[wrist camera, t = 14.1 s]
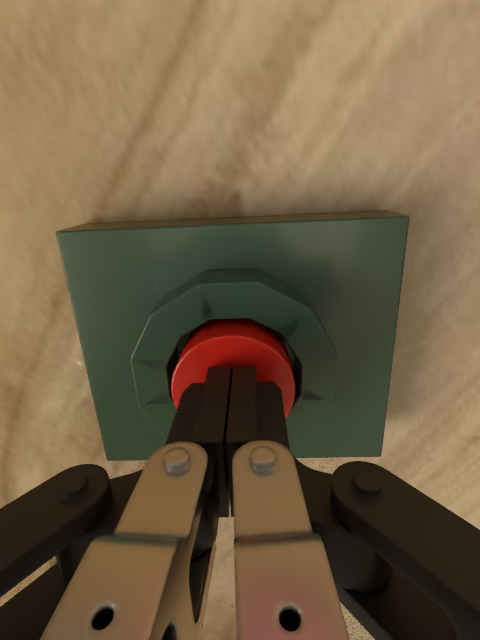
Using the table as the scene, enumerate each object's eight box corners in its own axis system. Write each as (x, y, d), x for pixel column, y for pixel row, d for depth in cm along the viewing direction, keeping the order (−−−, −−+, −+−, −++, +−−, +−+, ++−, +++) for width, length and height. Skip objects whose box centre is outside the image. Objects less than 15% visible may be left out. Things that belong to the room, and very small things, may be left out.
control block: (122, 429, 18) (89, 494, 14) (82, 223, 15) (23, 239, 11) (366, 425, 18) (397, 491, 14) (387, 210, 14) (436, 221, 10)
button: (186, 413, 14) (177, 444, 12) (175, 317, 13) (163, 337, 11) (290, 411, 14) (295, 442, 12) (290, 313, 12) (295, 333, 11)
